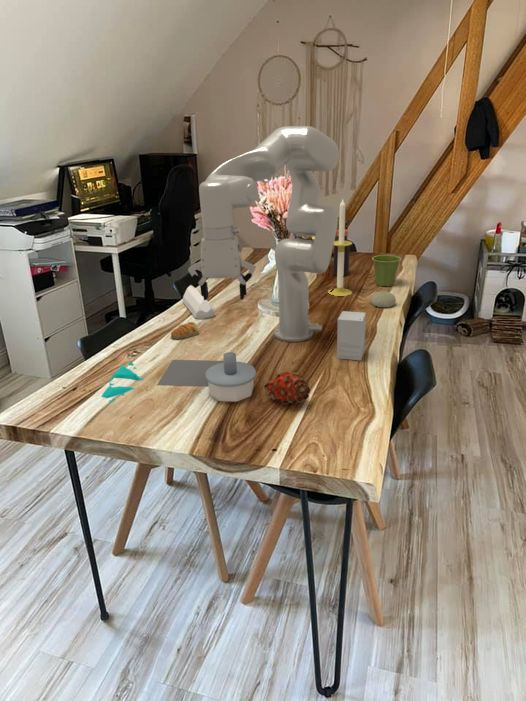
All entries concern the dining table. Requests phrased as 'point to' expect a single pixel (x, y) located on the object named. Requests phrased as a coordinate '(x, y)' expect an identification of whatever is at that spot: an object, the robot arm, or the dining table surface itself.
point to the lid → (230, 372)
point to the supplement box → (351, 335)
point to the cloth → (115, 391)
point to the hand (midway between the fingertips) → (224, 298)
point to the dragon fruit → (288, 388)
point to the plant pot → (385, 269)
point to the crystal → (197, 304)
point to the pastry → (185, 331)
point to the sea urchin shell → (383, 299)
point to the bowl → (231, 392)
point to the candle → (341, 255)
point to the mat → (187, 373)
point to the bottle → (346, 255)
